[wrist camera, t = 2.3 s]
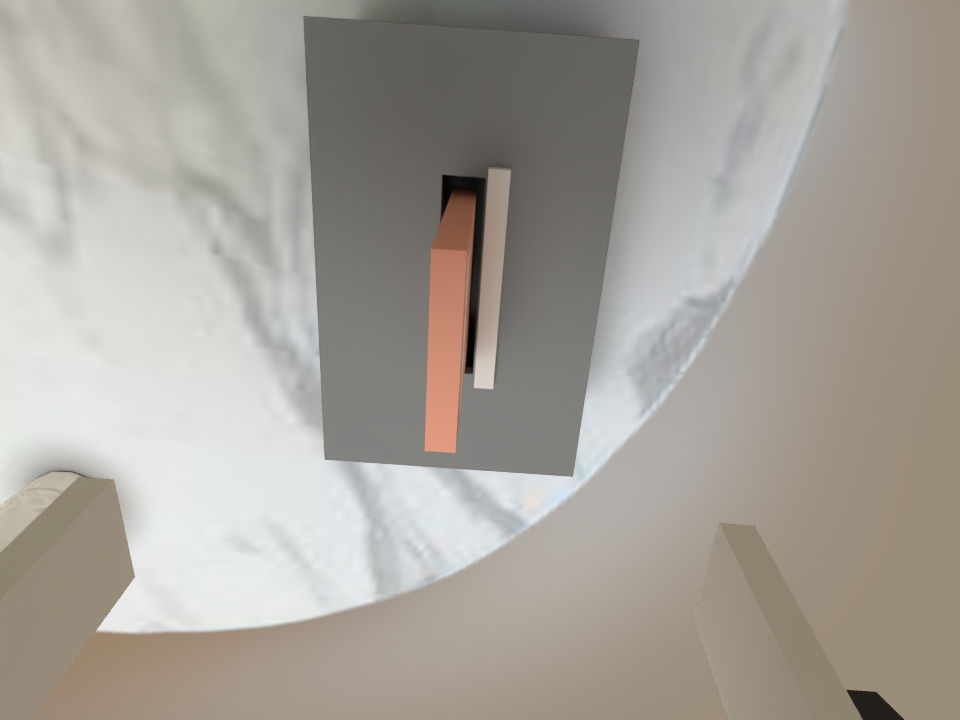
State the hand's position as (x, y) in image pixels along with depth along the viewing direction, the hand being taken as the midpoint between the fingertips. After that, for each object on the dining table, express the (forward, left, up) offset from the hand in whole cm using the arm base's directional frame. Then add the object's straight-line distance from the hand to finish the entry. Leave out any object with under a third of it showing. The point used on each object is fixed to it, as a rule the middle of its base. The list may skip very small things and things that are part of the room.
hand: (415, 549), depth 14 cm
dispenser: (0, 0, -29) cm, 29 cm away
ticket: (0, 0, -22) cm, 22 cm away
